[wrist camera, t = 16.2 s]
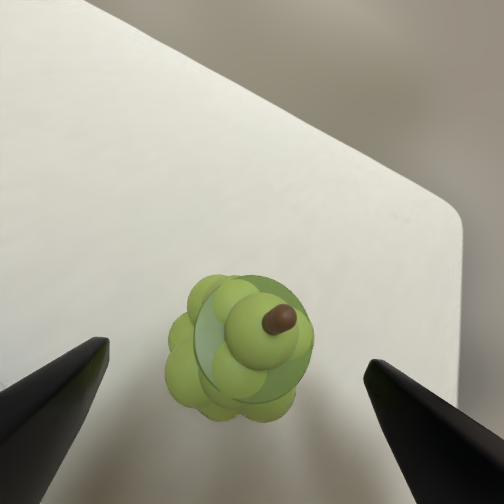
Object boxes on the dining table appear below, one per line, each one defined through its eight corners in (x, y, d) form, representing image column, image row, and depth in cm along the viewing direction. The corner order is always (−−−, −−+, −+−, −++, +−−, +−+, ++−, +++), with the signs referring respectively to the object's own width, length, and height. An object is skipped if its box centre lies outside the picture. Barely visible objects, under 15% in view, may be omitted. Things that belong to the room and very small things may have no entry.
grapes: (290, 366, 16) (473, 363, 6) (203, 436, 14) (240, 676, 3) (239, 285, 18) (307, 165, 7) (154, 333, 15) (65, 255, 5)
